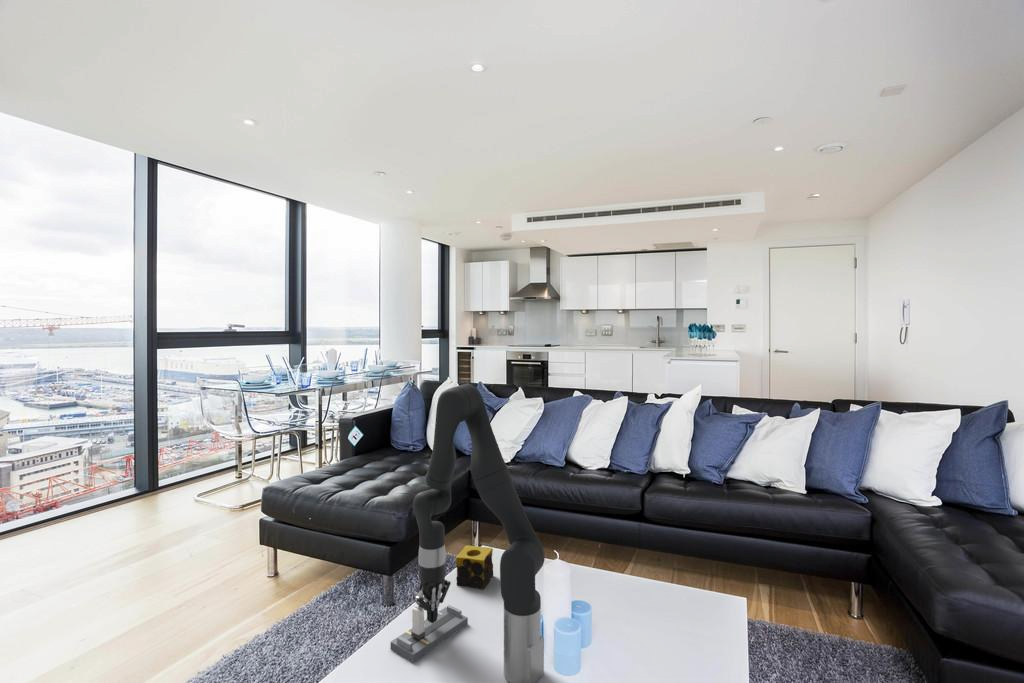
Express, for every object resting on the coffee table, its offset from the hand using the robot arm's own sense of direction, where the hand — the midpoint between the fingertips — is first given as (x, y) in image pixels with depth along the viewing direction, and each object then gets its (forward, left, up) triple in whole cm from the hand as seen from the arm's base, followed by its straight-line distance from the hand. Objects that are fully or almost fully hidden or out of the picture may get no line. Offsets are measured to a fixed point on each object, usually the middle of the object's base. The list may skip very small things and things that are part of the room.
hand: (432, 621), depth 142 cm
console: (0, +1, -4) cm, 4 cm away
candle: (+11, -30, -4) cm, 32 cm away
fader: (0, +5, -2) cm, 6 cm away
